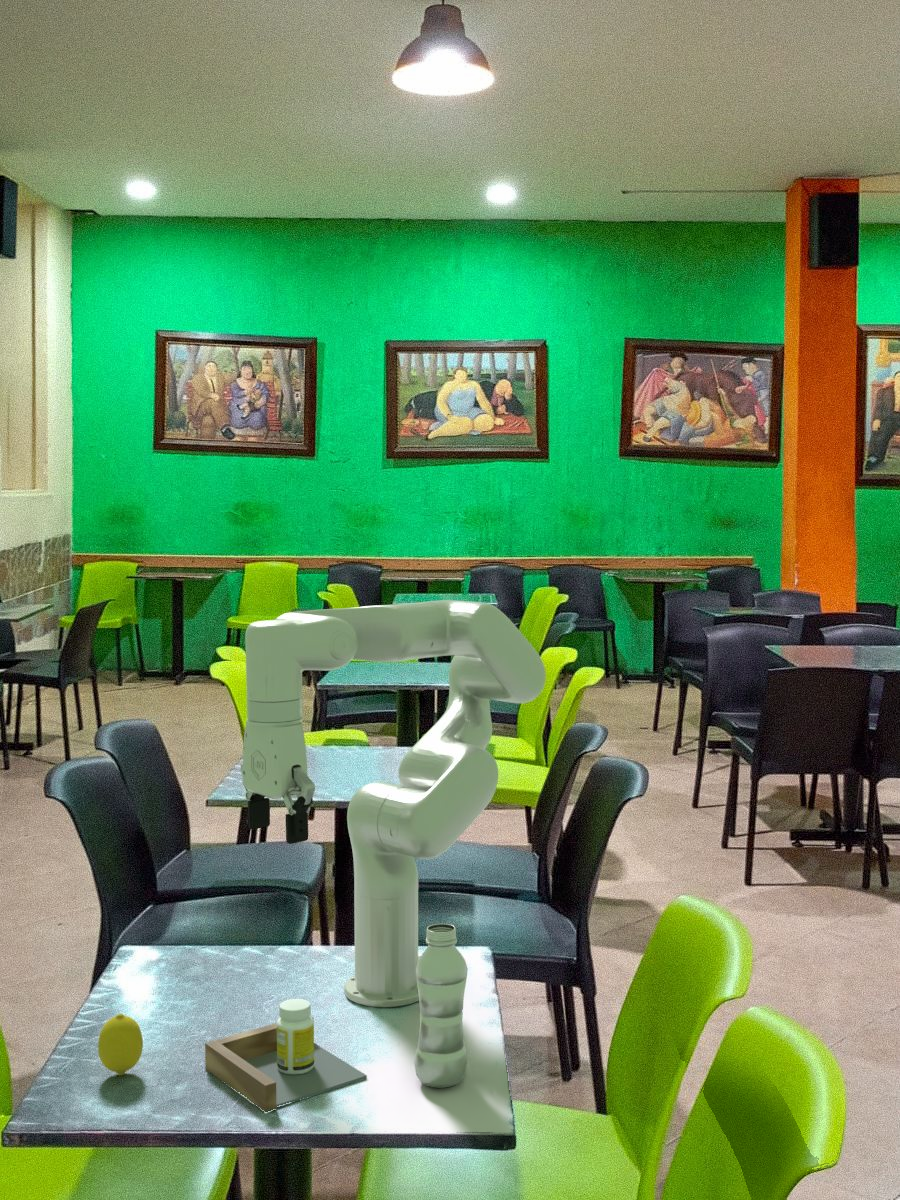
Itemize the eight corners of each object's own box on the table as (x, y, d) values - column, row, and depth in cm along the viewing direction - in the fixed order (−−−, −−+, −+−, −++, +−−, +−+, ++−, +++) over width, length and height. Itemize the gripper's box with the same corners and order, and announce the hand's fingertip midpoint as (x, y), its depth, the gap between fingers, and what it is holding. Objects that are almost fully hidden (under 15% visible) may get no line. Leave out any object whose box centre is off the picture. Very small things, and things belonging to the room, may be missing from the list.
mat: (310, 1043, 175) (310, 1040, 175) (366, 1078, 165) (366, 1075, 165) (221, 1070, 167) (221, 1067, 167) (274, 1108, 157) (274, 1105, 157)
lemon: (90, 1081, 164) (89, 1020, 163) (113, 1063, 169) (111, 1003, 169) (129, 1086, 163) (128, 1024, 162) (151, 1068, 168) (150, 1008, 167)
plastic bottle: (406, 1077, 165) (406, 924, 164) (454, 1067, 168) (454, 917, 167) (426, 1098, 159) (426, 939, 158) (476, 1088, 162) (476, 932, 161)
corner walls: (307, 1038, 177) (307, 1014, 177) (372, 1078, 165) (372, 1052, 165) (205, 1069, 167) (205, 1043, 167) (265, 1113, 155) (265, 1085, 155)
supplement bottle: (318, 1061, 169) (318, 998, 168) (307, 1077, 164) (307, 1012, 164) (283, 1058, 170) (283, 996, 169) (271, 1074, 165) (271, 1010, 165)
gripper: (219, 706, 180) (222, 827, 182) (285, 723, 167) (288, 853, 168) (265, 700, 185) (268, 818, 187) (333, 716, 172) (336, 842, 173)
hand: (277, 834), depth 178 cm, fingers open, 9 cm apart
